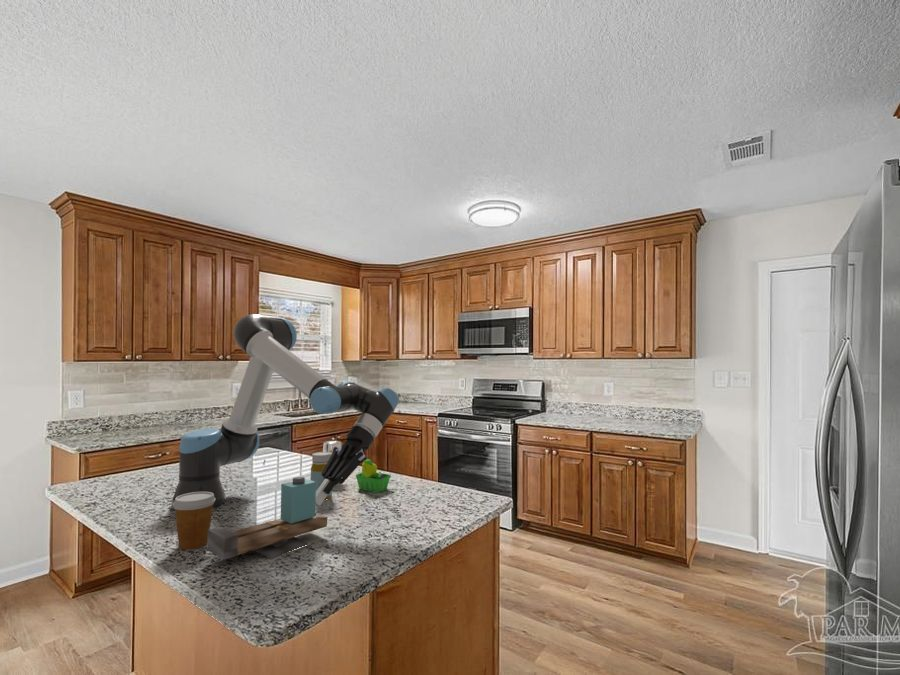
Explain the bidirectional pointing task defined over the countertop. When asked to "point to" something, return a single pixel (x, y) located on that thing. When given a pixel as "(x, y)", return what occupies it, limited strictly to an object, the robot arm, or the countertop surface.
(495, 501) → the countertop surface
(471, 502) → the countertop surface
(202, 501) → the disposable coffee cup
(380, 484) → the fruit basket
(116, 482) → the countertop surface
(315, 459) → the bottle
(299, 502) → the block
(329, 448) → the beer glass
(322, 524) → the balance beam
